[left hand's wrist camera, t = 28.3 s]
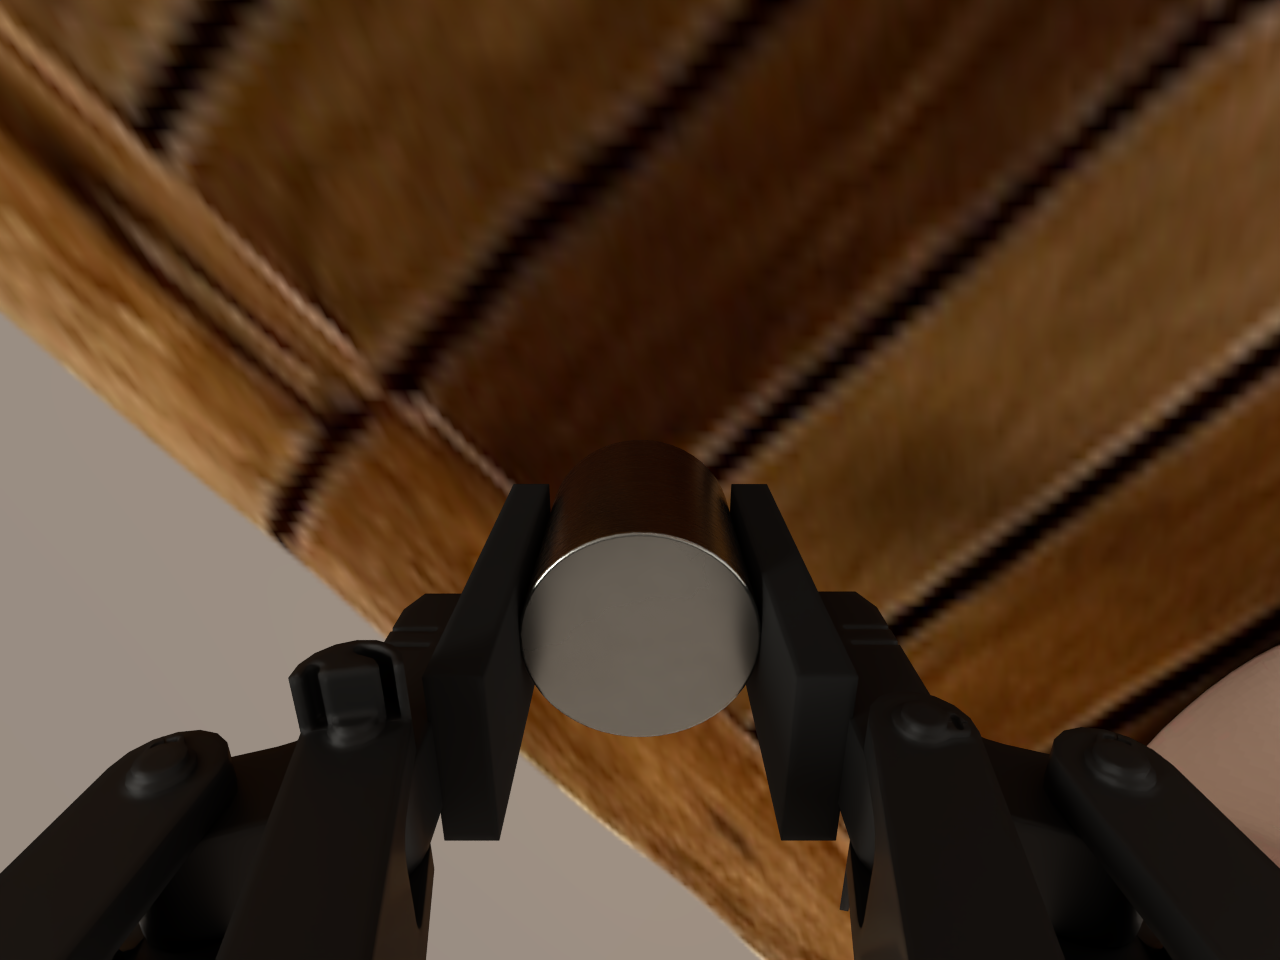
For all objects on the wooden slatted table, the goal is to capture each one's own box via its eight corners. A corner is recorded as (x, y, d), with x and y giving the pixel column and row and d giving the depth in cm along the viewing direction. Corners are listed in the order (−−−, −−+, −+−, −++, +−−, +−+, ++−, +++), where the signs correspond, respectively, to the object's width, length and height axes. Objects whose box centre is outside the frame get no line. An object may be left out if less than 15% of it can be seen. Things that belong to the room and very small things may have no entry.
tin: (701, 416, 14) (726, 501, 10) (747, 572, 15) (787, 706, 11) (526, 469, 15) (480, 572, 10) (586, 617, 16) (567, 761, 12)
